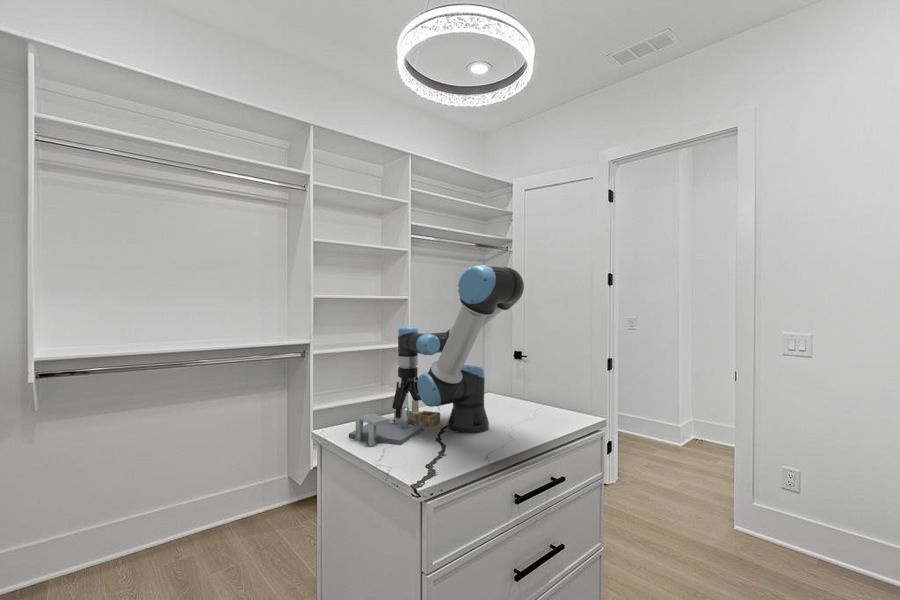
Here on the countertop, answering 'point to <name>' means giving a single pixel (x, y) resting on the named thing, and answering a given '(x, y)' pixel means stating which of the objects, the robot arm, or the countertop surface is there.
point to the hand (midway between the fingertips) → (407, 421)
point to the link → (423, 418)
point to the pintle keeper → (377, 420)
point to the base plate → (390, 433)
